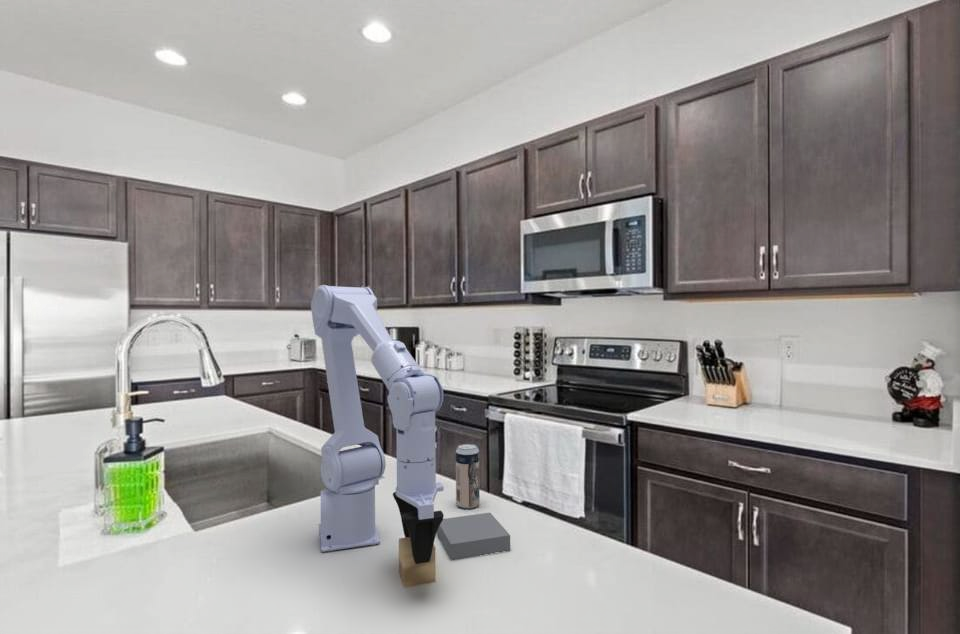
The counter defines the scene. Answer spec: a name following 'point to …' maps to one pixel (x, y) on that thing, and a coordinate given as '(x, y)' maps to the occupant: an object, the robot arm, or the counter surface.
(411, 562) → the oak block
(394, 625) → the counter surface
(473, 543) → the charcoal base
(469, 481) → the beer can
